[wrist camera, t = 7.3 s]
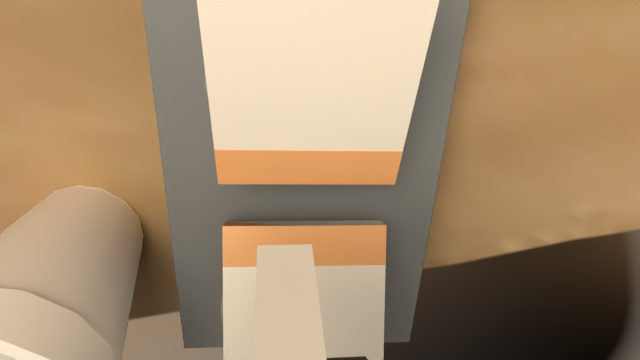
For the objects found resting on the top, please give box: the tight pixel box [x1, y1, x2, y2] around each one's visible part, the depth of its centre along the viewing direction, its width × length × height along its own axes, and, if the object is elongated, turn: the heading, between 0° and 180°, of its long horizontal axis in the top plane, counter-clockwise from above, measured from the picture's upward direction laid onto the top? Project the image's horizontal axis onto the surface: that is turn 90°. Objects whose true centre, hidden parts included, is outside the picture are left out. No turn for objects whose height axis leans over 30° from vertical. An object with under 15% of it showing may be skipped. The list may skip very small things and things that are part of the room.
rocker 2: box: [221, 220, 387, 360], centre depth 25 cm, size 8×9×2 cm
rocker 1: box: [197, 0, 439, 185], centre depth 19 cm, size 8×9×2 cm
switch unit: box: [142, 0, 470, 348], centre depth 26 cm, size 14×23×6 cm, turn 177°
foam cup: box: [0, 185, 144, 360], centre depth 24 cm, size 10×9×13 cm
